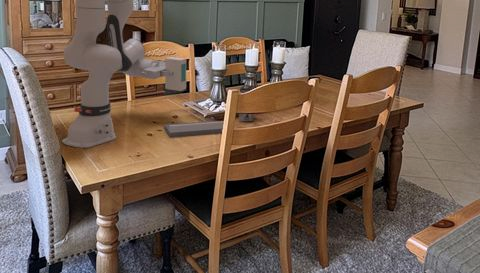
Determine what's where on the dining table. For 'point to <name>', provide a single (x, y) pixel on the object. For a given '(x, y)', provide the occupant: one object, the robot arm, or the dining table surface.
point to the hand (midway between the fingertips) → (176, 72)
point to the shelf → (193, 128)
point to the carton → (175, 73)
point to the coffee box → (246, 116)
